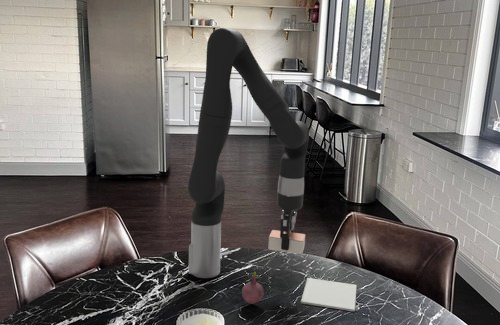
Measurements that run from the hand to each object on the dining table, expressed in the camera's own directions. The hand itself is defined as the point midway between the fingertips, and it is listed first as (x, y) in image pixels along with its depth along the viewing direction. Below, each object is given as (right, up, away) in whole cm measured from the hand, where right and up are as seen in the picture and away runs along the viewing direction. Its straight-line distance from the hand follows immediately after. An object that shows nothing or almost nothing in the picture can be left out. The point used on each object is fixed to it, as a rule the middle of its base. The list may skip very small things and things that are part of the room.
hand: (286, 245), depth 142 cm
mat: (+13, -14, 0) cm, 19 cm away
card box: (0, -1, 0) cm, 1 cm away
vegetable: (-10, -16, -8) cm, 20 cm away
